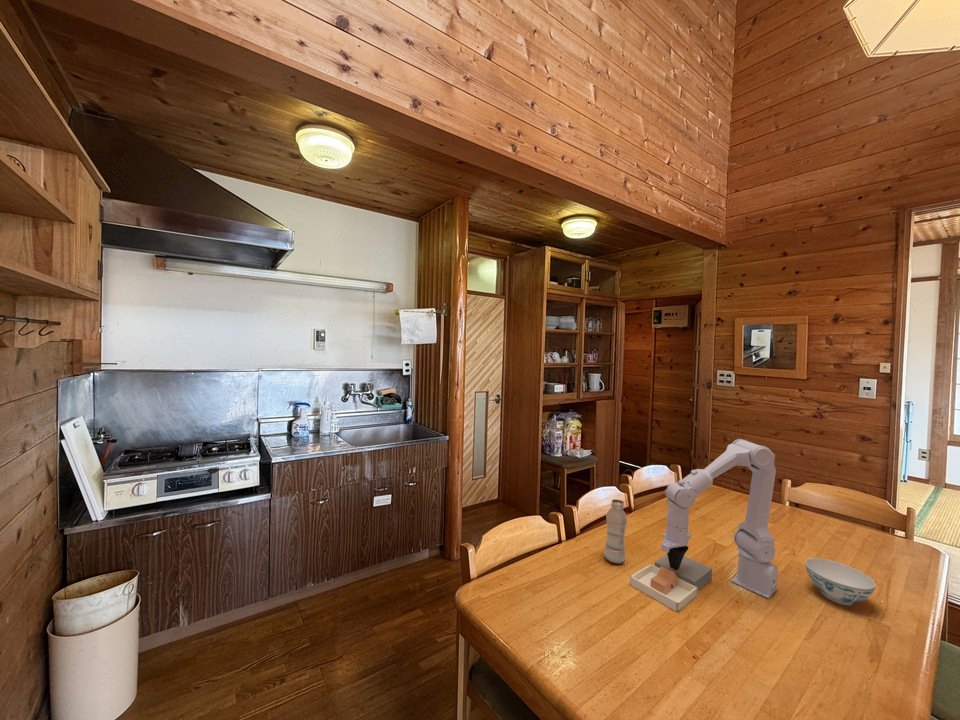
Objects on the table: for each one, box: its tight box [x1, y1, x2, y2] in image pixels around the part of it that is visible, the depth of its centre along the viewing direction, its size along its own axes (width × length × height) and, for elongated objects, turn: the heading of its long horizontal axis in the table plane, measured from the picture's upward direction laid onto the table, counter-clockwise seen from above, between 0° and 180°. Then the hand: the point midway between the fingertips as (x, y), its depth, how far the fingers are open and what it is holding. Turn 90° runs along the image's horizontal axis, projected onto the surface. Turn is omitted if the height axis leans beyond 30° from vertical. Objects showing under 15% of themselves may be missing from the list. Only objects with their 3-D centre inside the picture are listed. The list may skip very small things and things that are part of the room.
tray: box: [629, 563, 699, 613], centre depth 110 cm, size 14×12×2 cm
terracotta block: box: [650, 575, 671, 595], centre depth 109 cm, size 4×4×3 cm
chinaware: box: [804, 557, 877, 606], centre depth 111 cm, size 15×15×8 cm
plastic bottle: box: [603, 499, 628, 565], centre depth 124 cm, size 6×7×20 cm
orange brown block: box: [657, 566, 678, 587], centre depth 112 cm, size 4×4×3 cm
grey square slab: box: [654, 554, 713, 591], centre depth 118 cm, size 12×12×4 cm
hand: (674, 568), depth 114 cm, fingers closed
